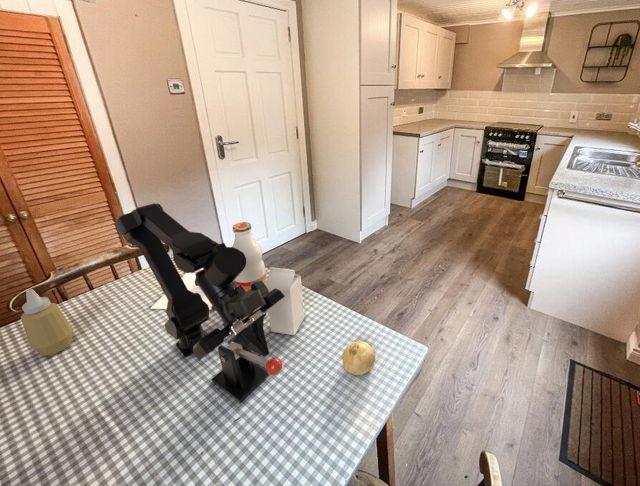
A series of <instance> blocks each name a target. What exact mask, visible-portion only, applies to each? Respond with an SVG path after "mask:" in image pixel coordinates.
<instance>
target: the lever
mask: <svg viewBox="0 0 640 486" xmlns="http://www.w3.org/2000/svg"><path fill="white" fill-rule="evenodd" d="M225 348H227V349H228V350H230V351H231V352H233V353H234V355H235V360H237V359H238V358H239V357H242V358H244V359H247V360H249V361H252V362H253V364H255V365H259V366H261V367H264V368H265V371H266V372H267V373H268V375H269V376H277V375H278V374H279V373H280V372H281V371H282V369H283V362H282V360H281V359H280V358H278V357H272V358H269V359H267V358H266V357H263V356H261V355H257V354H255V353H253V352H252V353H250V352H247V351H245V350H243V348H242V345H240V344H238V343H235V342H231V343H230V344H228V346H226V347H225Z"/></svg>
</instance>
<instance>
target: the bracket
mask: <svg viewBox="0 0 640 486" xmlns="http://www.w3.org/2000/svg"><path fill="white" fill-rule="evenodd" d="M242 348H243V350H245V351H247V352H250V353H252V354H253V352H252V350H251V349H249V348H247V347H245V346H242ZM217 352H218V356H219V361H220V365H221V371H219V372H218V373H217V374H215V375H214V376H213V377H212V378H211V383H212V384H213V385H215V386H216V387H218V388H219V389H220V390H221V391H222V392H224V393H225V394H227V395H228V396H229V397H231V398H232V399H234V400H235V401H236V402H237V403H239V404H242V403H243V402H244V401H245V400H246V399H247V398H248V397H249V396H250V395H251V394H252V393H253V392H254V391H255V390H256V389H257V388H258V387H260V386H261V384H263V383H264V381H266V379H267V378H269V376H270V375H269V374H268V373H267V371H266V370H265V369H263V368H261V367H260V366H258V364H256V363H254V362H252V361H249V360H247V359H244V358H242V357H239V358H238V359H237V360H235V355H234V353H233V352H231V351H230V350H228V349H227V348H226V347H225V346H224V345H222V344H220V345H219V346H217Z"/></svg>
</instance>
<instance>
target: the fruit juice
mask: <svg viewBox="0 0 640 486" xmlns="http://www.w3.org/2000/svg"><path fill="white" fill-rule="evenodd" d="M232 232H233V233H234V241H233V244H232V245H231V247H233V248H236V249H238V250H240V251H241V252H243V253H244V255H245V257H246V266H245V268H244V270H243V271H242V272H241V273H240V274H239V275H238V277H237V278H236V279H235V280H234V282H235V284H236V285H237V286H240V285H241V287H243V288H244V290H246V291H248V290H250V289H251V285H252V284H253V283H255V282H257V281H259V280H262V281H263V283H264V284H265V285H266V282H267V279H268V276H267V271H266V266H265V262H264V260H263V253H264V252H263V248H262V246H261V243H259V242H258V241H257V240H256V239H255V238H254V236H253V234H252V224H251V223H250V222H248V221H241V222H237V223H235V224H233V225H232Z"/></svg>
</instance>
